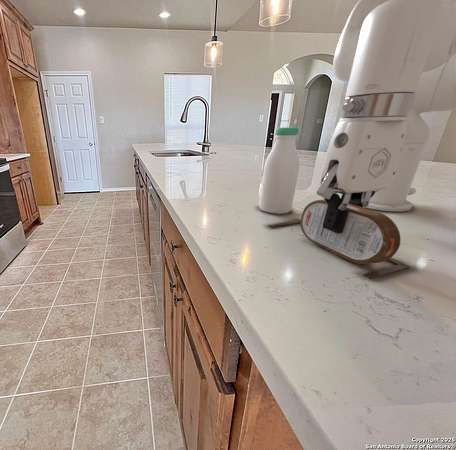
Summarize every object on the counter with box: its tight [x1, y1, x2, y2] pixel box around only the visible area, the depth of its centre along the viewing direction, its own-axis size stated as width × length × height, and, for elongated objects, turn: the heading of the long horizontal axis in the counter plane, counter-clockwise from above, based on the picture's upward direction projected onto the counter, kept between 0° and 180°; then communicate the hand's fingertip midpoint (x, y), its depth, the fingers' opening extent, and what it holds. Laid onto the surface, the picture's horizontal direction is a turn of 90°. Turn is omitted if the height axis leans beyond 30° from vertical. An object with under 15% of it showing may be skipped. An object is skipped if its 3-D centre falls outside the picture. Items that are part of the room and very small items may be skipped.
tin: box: [300, 198, 402, 265], centre depth 41 cm, size 15×3×8 cm, turn 17°
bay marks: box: [268, 219, 412, 280], centre depth 46 cm, size 8×21×1 cm, turn 17°
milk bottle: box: [258, 126, 300, 214], centre depth 60 cm, size 8×8×20 cm
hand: (339, 228), depth 42 cm, fingers closed on tin, 2 cm apart
